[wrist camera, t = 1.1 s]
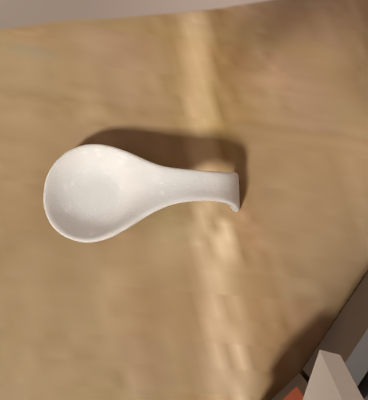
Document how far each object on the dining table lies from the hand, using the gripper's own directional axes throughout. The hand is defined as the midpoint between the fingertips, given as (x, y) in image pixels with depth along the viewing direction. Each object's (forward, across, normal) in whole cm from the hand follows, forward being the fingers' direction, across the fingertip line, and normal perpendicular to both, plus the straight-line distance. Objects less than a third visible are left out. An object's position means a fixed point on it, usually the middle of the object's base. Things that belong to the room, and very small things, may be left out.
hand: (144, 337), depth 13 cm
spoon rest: (+30, +6, +2) cm, 31 cm away
